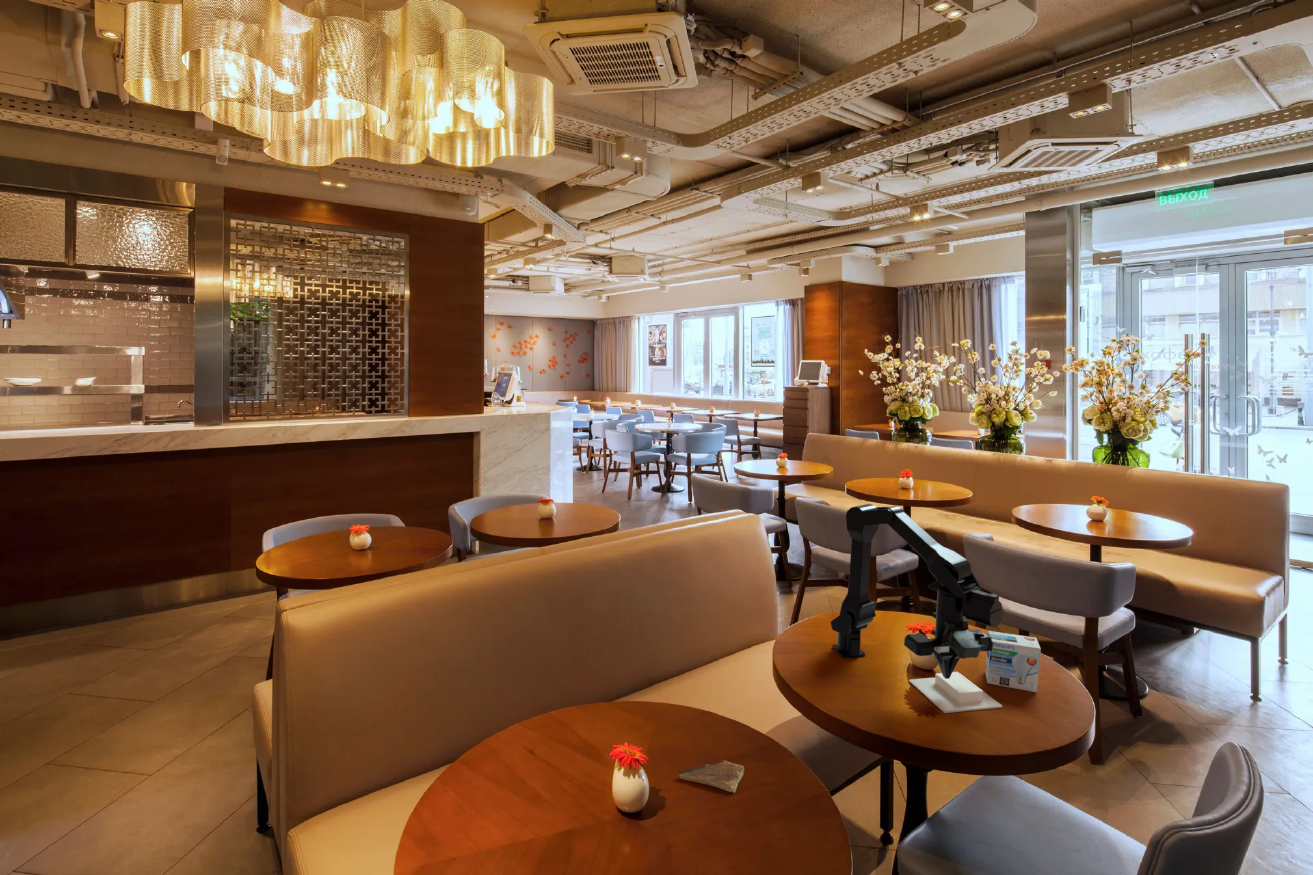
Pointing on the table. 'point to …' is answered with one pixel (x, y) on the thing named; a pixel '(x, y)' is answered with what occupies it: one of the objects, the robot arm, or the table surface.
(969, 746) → the table surface
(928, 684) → the mat
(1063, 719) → the table surface
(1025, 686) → the light bulb box
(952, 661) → the robot arm
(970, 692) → the domino block
